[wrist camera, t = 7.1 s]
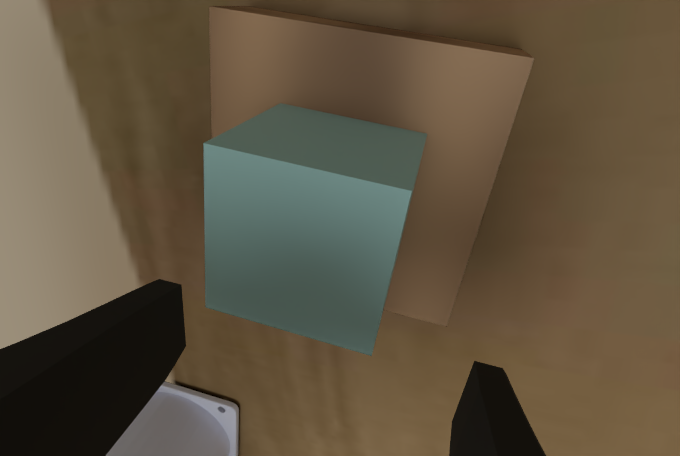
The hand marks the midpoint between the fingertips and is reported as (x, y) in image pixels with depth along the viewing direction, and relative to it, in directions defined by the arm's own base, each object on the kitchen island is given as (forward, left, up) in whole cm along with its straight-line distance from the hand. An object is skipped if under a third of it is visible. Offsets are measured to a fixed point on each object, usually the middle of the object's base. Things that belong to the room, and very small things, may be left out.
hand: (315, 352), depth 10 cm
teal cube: (-1, +2, -6) cm, 7 cm away
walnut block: (-1, +2, -10) cm, 10 cm away
